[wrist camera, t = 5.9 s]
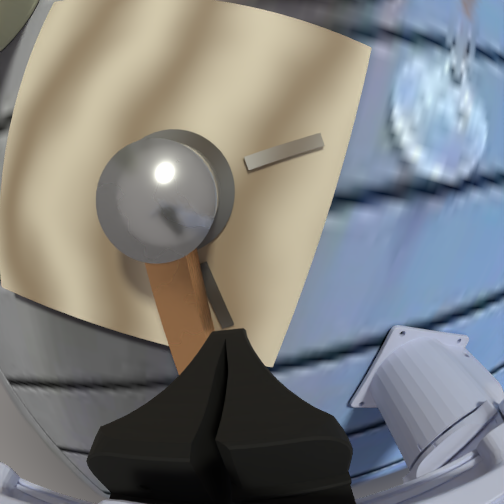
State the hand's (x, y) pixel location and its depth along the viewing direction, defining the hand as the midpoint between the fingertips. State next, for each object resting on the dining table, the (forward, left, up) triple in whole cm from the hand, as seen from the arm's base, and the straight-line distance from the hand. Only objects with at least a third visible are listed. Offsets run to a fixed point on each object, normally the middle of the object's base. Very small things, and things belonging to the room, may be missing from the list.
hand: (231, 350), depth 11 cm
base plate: (+6, -6, -7) cm, 11 cm away
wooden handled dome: (+3, -2, -5) cm, 6 cm away
